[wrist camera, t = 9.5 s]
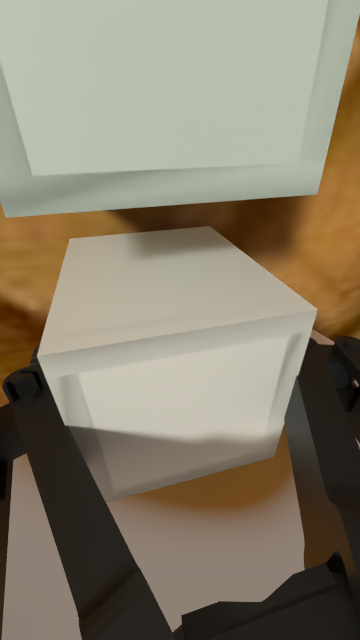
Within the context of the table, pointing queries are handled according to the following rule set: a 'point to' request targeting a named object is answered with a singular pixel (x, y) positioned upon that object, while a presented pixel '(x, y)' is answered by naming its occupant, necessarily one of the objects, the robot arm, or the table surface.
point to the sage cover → (166, 100)
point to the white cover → (170, 356)
